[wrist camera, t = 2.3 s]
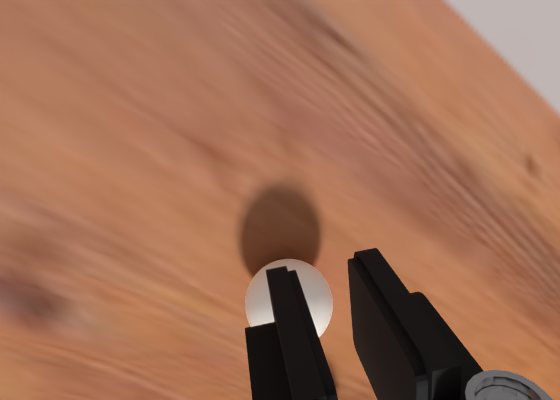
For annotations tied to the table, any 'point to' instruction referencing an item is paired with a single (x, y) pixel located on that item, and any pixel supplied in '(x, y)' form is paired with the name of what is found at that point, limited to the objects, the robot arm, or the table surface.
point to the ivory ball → (311, 285)
